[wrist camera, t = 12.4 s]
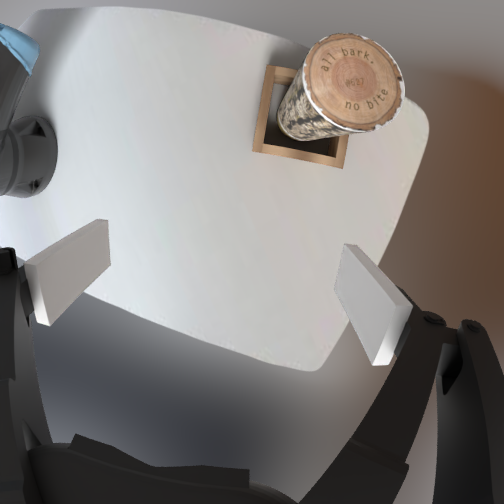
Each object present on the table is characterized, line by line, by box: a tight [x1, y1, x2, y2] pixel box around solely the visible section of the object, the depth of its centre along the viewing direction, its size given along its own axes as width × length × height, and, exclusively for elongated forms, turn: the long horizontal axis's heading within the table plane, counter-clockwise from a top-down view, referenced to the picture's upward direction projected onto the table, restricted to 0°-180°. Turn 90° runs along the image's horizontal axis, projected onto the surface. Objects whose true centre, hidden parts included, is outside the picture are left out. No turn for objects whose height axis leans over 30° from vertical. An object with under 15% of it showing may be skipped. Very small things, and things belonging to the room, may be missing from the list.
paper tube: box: [277, 33, 405, 141], centre depth 26 cm, size 7×7×25 cm
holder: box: [252, 65, 349, 169], centre depth 36 cm, size 12×12×5 cm
